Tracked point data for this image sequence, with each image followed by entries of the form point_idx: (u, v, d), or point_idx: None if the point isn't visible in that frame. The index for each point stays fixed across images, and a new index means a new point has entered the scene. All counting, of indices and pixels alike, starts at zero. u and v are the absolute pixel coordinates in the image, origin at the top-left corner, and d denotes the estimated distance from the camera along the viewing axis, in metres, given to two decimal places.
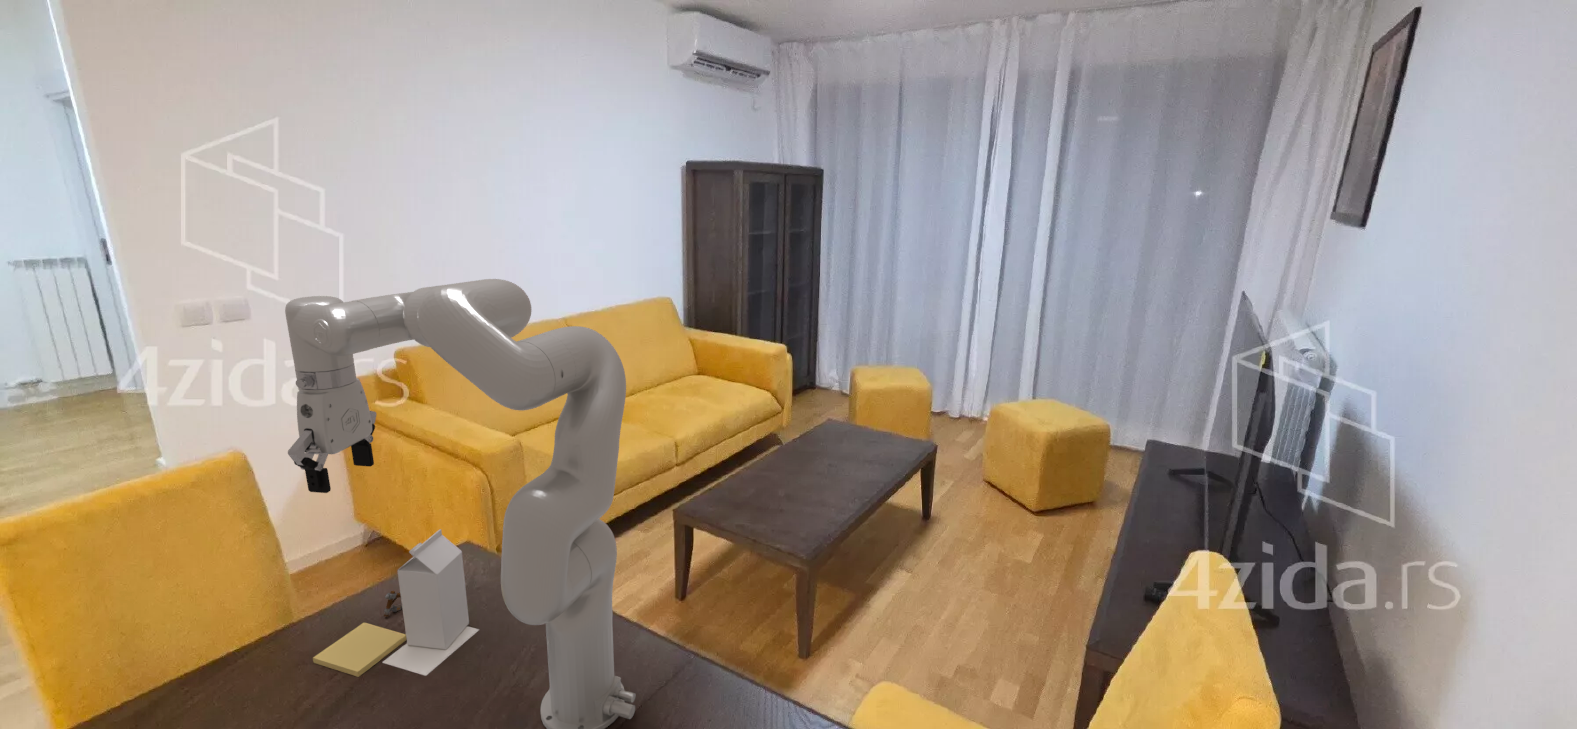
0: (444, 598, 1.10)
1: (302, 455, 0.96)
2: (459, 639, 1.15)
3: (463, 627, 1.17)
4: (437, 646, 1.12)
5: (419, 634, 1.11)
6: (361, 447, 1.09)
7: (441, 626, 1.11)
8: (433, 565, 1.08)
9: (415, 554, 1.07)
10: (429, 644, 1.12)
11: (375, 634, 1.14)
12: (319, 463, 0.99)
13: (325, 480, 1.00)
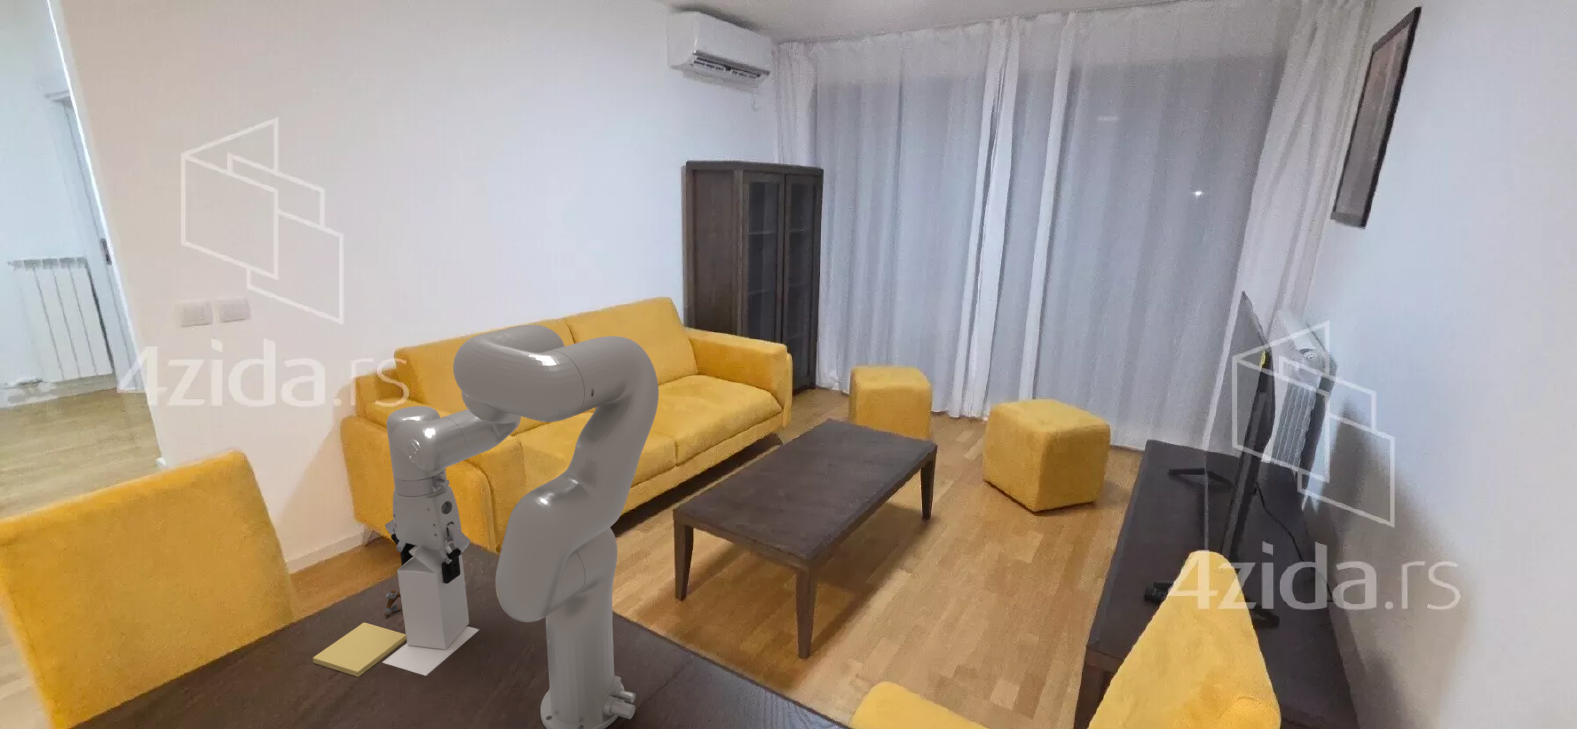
0: (444, 598, 1.10)
1: None
2: (459, 639, 1.15)
3: (463, 627, 1.17)
4: (437, 646, 1.12)
5: (419, 634, 1.11)
6: None
7: (441, 626, 1.11)
8: (433, 565, 1.08)
9: (415, 554, 1.07)
10: (429, 644, 1.12)
11: (375, 634, 1.14)
12: None
13: (458, 563, 1.12)
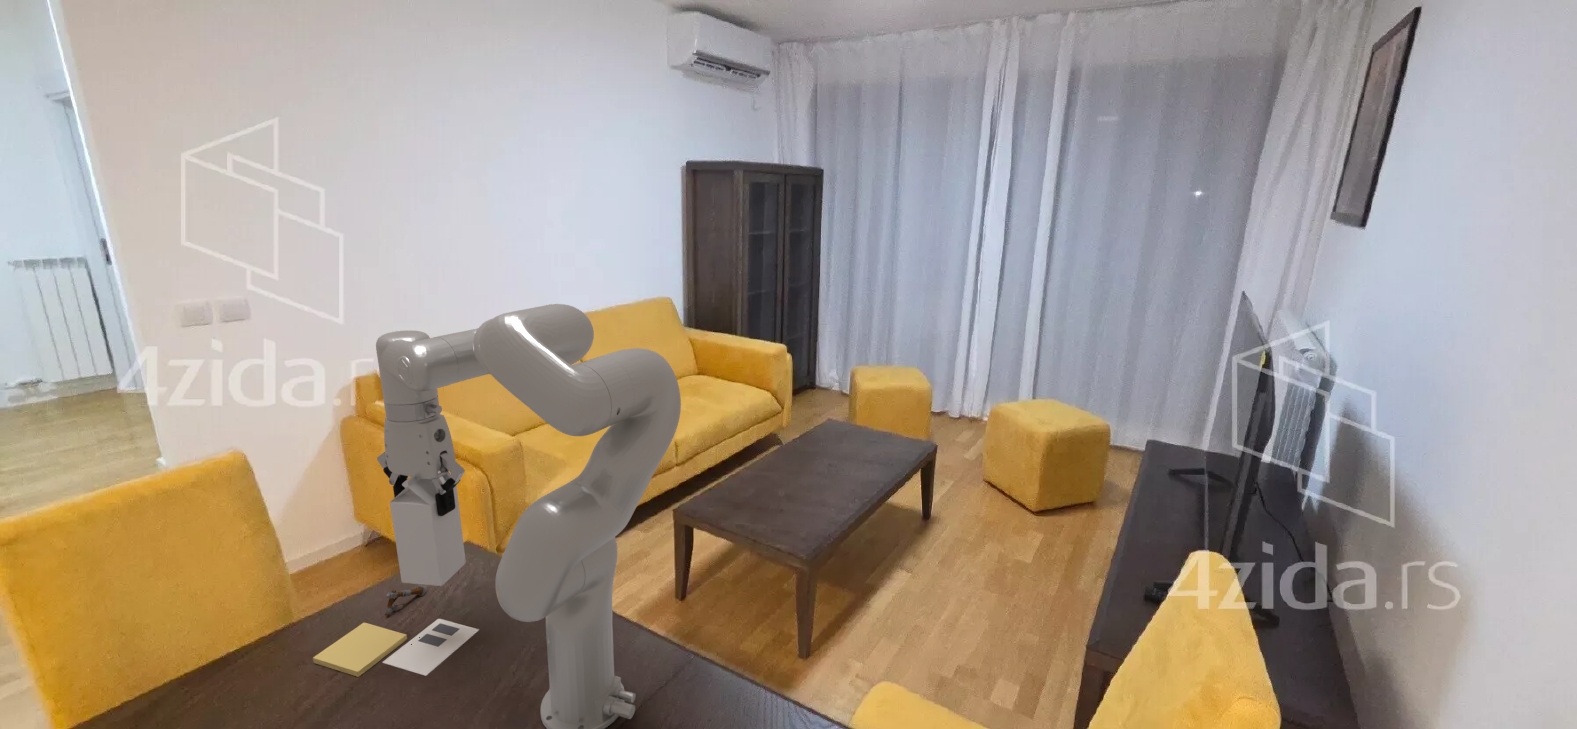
0: (439, 532, 1.07)
1: None
2: (459, 639, 1.15)
3: (459, 566, 1.13)
4: (432, 583, 1.08)
5: (414, 570, 1.08)
6: None
7: (436, 561, 1.07)
8: (426, 496, 1.05)
9: (408, 484, 1.04)
10: (424, 581, 1.08)
11: (375, 634, 1.14)
12: None
13: None
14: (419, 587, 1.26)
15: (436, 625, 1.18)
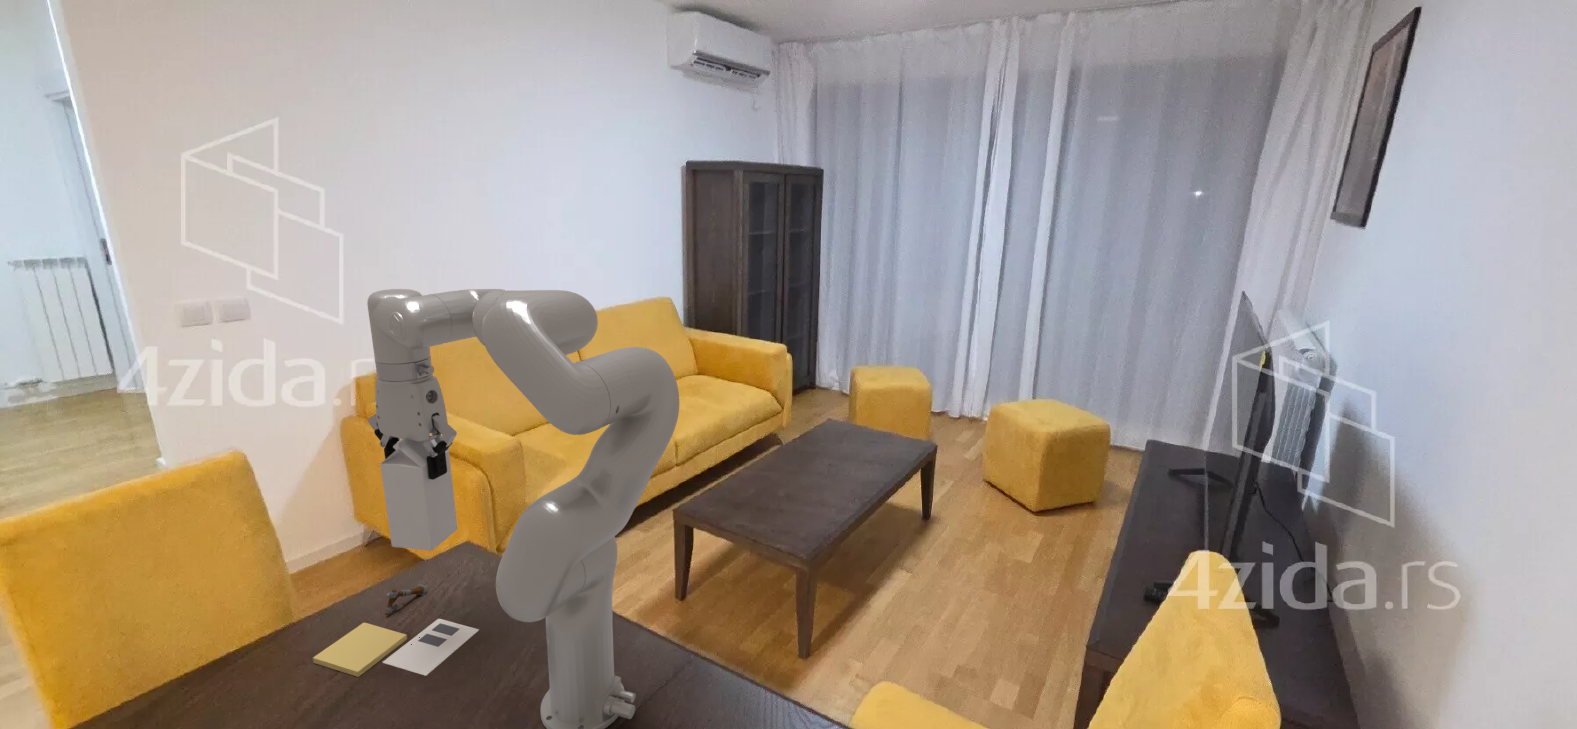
0: (430, 495, 1.05)
1: None
2: (459, 639, 1.15)
3: (451, 532, 1.11)
4: (423, 547, 1.06)
5: (404, 534, 1.06)
6: None
7: (426, 525, 1.05)
8: (418, 459, 1.03)
9: (399, 446, 1.02)
10: (414, 545, 1.06)
11: (375, 634, 1.14)
12: None
13: None
14: (419, 587, 1.26)
15: (436, 625, 1.18)
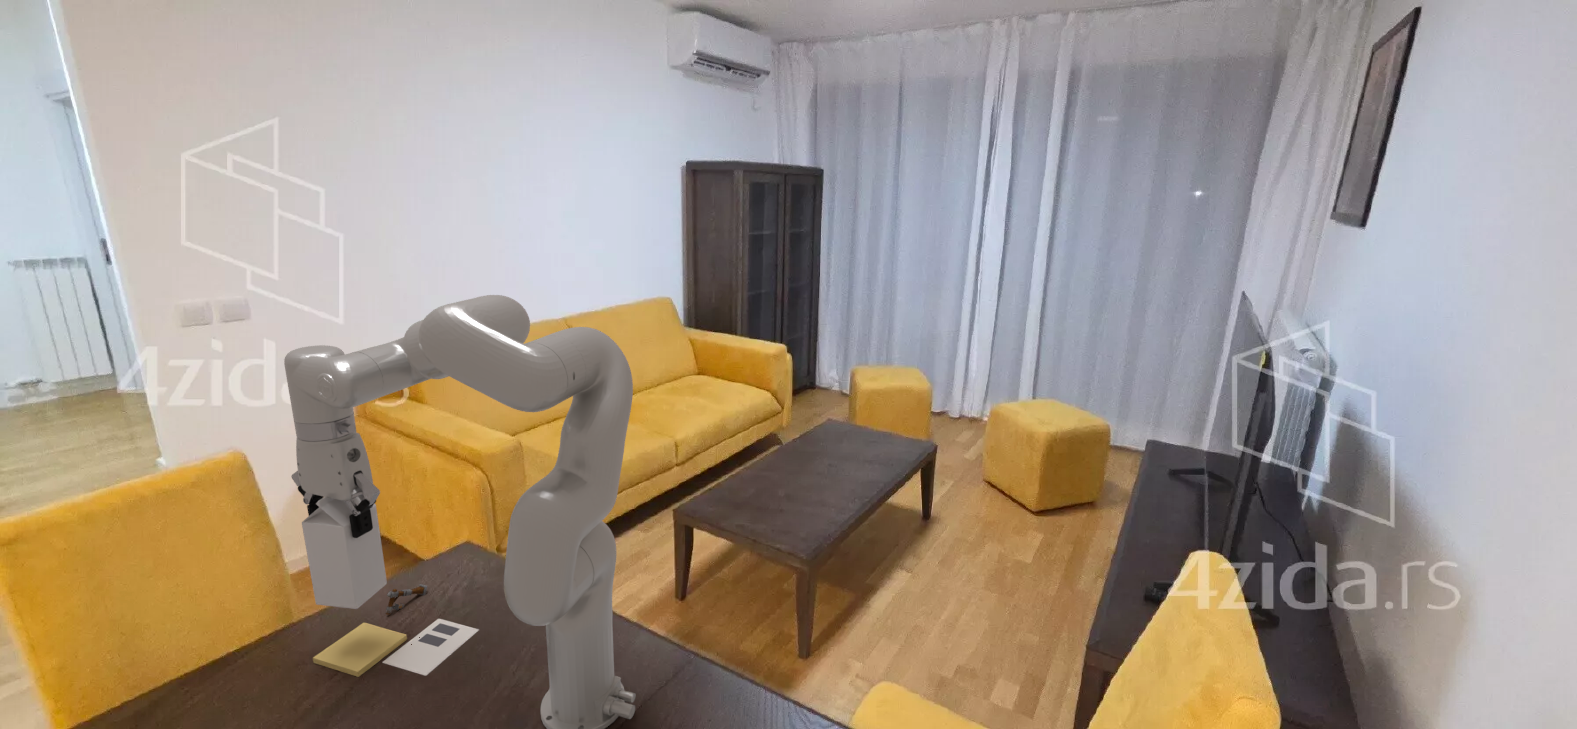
0: (354, 553, 1.03)
1: None
2: (459, 639, 1.15)
3: (379, 587, 1.09)
4: (347, 605, 1.04)
5: (328, 592, 1.04)
6: None
7: (350, 584, 1.03)
8: (340, 517, 1.01)
9: (320, 505, 1.00)
10: (339, 603, 1.04)
11: (375, 634, 1.14)
12: None
13: (370, 517, 1.04)
14: (420, 586, 1.26)
15: (436, 625, 1.18)
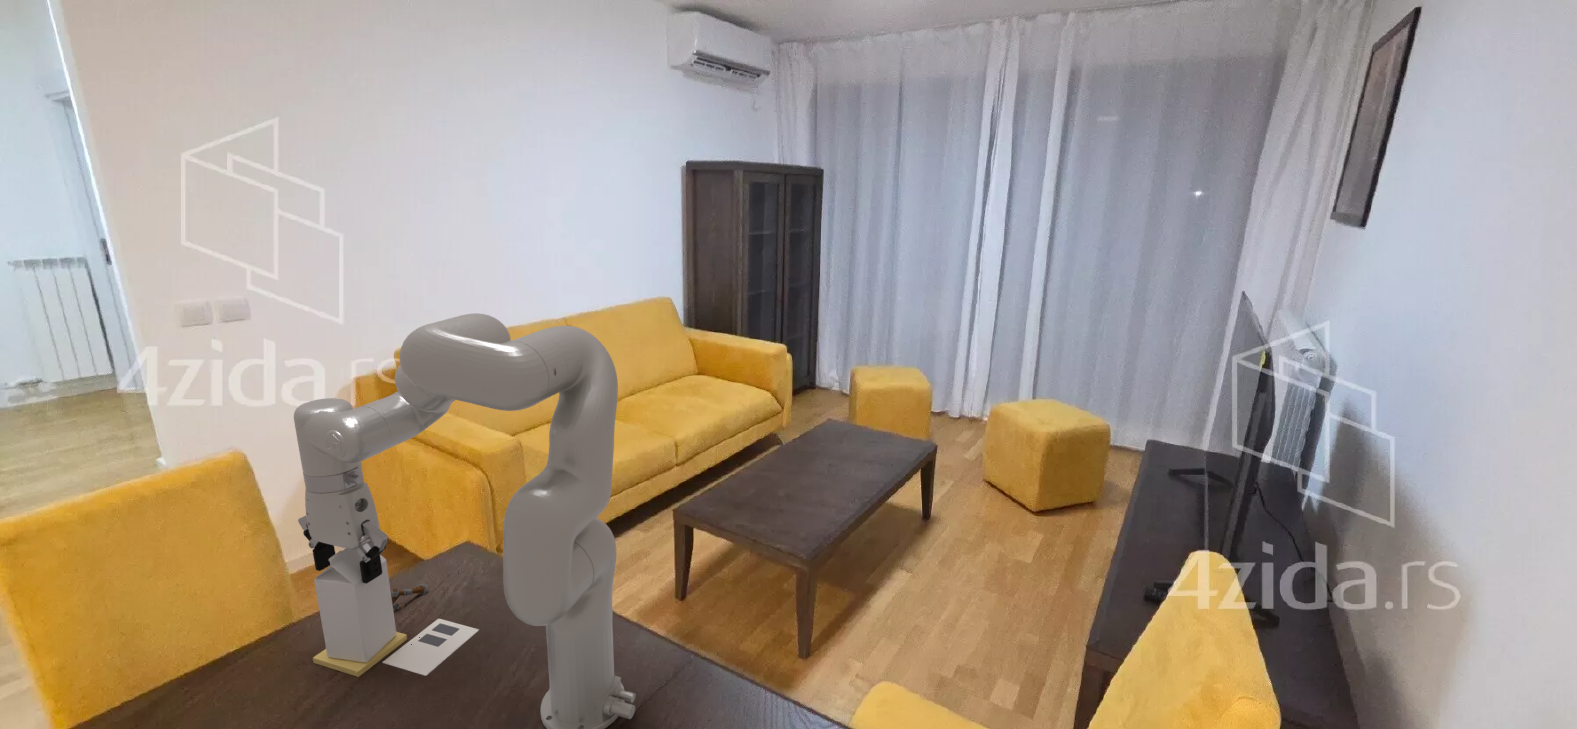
0: (364, 609, 1.05)
1: None
2: (459, 639, 1.15)
3: (389, 639, 1.12)
4: (357, 659, 1.07)
5: (339, 646, 1.07)
6: (327, 547, 1.07)
7: (360, 639, 1.06)
8: (351, 575, 1.03)
9: (331, 563, 1.02)
10: (349, 657, 1.07)
11: None
12: None
13: (380, 562, 1.06)
14: (420, 586, 1.26)
15: (436, 625, 1.18)
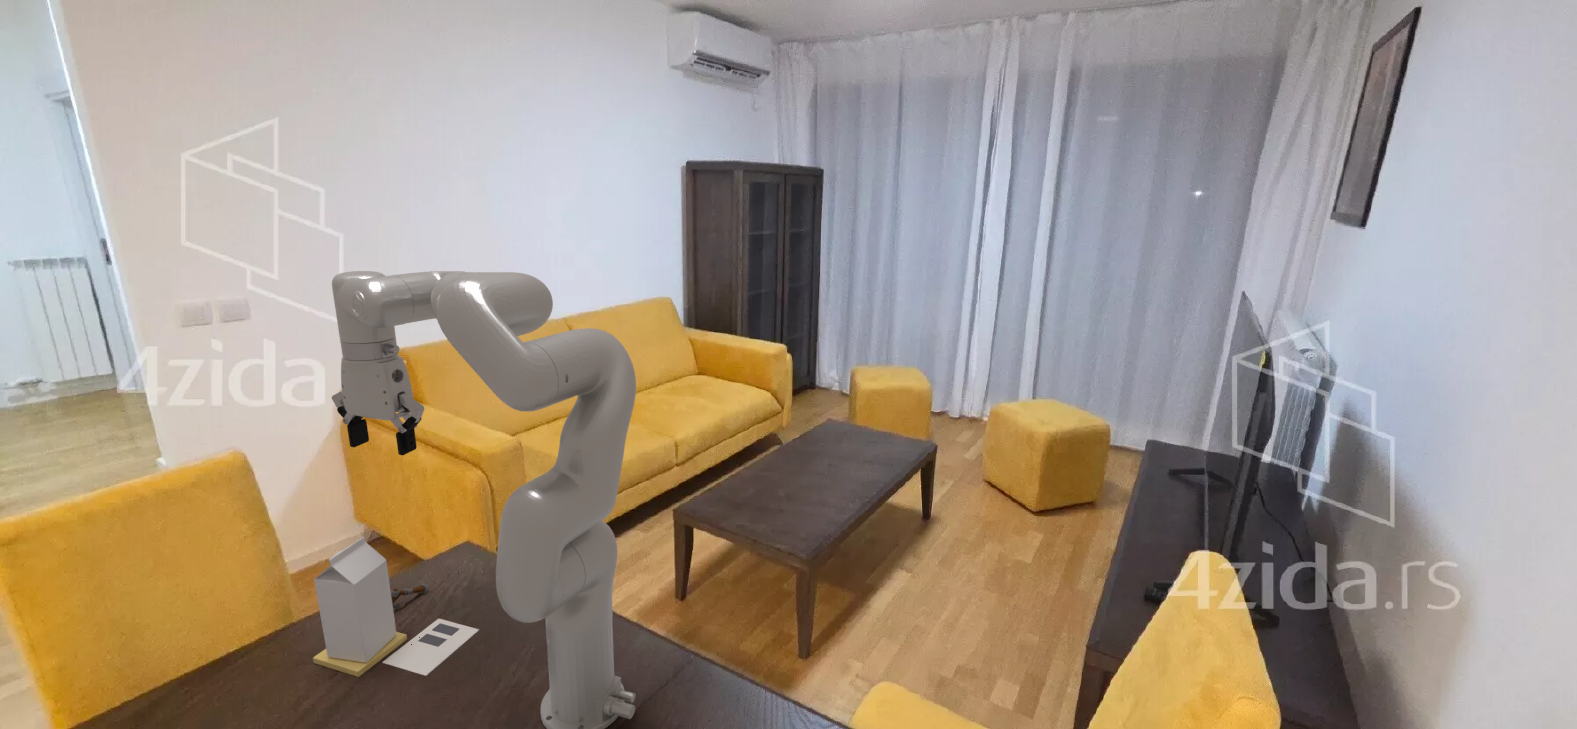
0: (364, 609, 1.05)
1: None
2: (459, 639, 1.15)
3: (389, 639, 1.12)
4: (357, 659, 1.07)
5: (339, 646, 1.07)
6: (360, 424, 1.09)
7: (360, 639, 1.06)
8: (351, 575, 1.03)
9: (331, 563, 1.02)
10: (349, 657, 1.07)
11: None
12: None
13: (414, 437, 1.09)
14: (421, 585, 1.27)
15: (436, 625, 1.18)
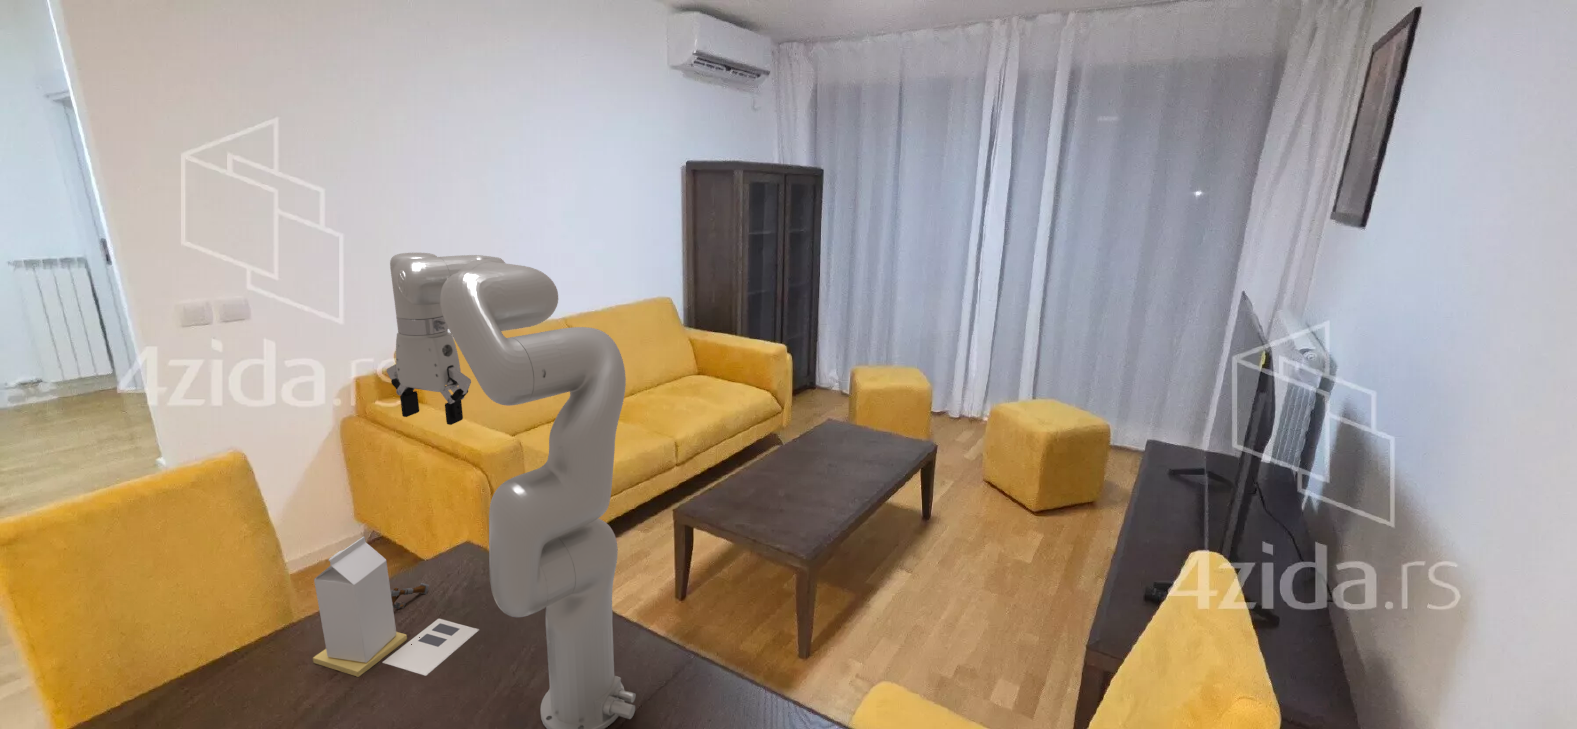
0: (364, 609, 1.05)
1: None
2: (459, 639, 1.15)
3: (389, 639, 1.12)
4: (357, 659, 1.07)
5: (339, 646, 1.07)
6: (412, 396, 1.18)
7: (360, 639, 1.06)
8: (351, 575, 1.03)
9: (331, 563, 1.02)
10: (349, 657, 1.07)
11: None
12: None
13: None
14: (421, 585, 1.27)
15: (436, 625, 1.18)
